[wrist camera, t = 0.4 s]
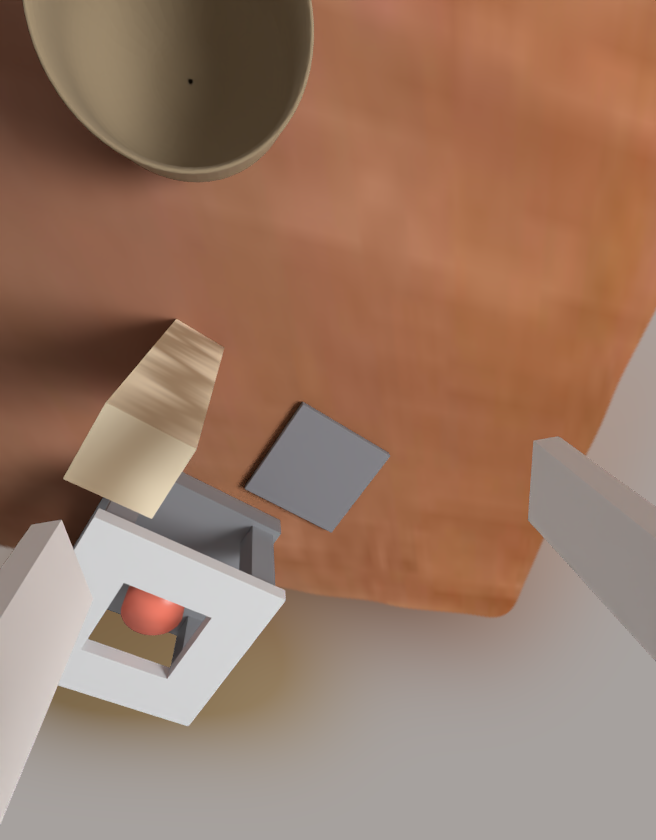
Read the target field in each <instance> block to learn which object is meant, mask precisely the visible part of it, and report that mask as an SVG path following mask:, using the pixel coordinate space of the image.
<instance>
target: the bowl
mask: <svg viewBox="0 0 656 840" xmlns="http://www.w3.org/2000/svg"><path fill="white" fill-rule="evenodd" d="M22 1H23V7H24V13H25V17H26V22H27V26H28V30H29V33H30V36H31V39H32V42H33V45H34V48H35V51H36V53H37V55H38V58H39V60H40V63H41V65H42V67H43V69H44V71H45V73H46V75H47V76H48V78H49V80H50V82H51V84H52V85H53V87H54V88H55V90H56V92H57V93H58V95H59V96H60V97H61V99H62V100H63V102H64V103H65V104H66V106H67V107H68V108H69V109H70V111H71V112H72V113H73V114H74V115H75V116H76V118H77V119H78V120H79V121H80V122H81V123H82V124H83V125H84V126H85V127H86V128H87V129H88V130H89V131H90V132H91V133H92V134H94V135H95V136H96V137H97V138H99V139H100V140H101V141H102V142H103V143H105V144H106V145H108V146H109V147H111V148H112V149H113V150H115V151H116V152H118V153H120V154H122V155H123V156H125V157H127V158H129V159H130V160H132V161H133V162H135V163H136V164H138V165H140V166H141V167H143V168H145V169H147V170H149V171H151V172H153V173H155V174H158V175H161V176H164V177H167V178H170V179H174V180H179V181H186V182H210V181H215V180H220V179H224V178H227V177H230V176H232V175H235V174H237V173H239V172H241V171H243V170H245V169H247V168H248V167H250V166H251V165H252V164H254V163H255V162H256V161H258V160H259V159H260V158H261V157H262V156H263V155H264V154H265V153H266V152H267V151H268V150H269V149H270V147H271V146H272V145H273V143H274V142H275V141H276V139H277V138H278V136H279V134H280V133H281V132H282V131H283V129H284V128H285V127H286V125H287V124H288V122H289V121H290V119H291V118H292V116H293V114H294V113H295V111H296V109H297V107H298V105H299V102H300V100H301V98H302V95H303V93H304V90H305V87H306V84H307V80H308V76H309V73H310V68H311V62H312V56H313V44H314V21H313V9H312V2H311V0H22Z"/></svg>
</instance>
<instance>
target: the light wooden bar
mask: <svg viewBox="0 0 656 840" xmlns="http://www.w3.org/2000/svg"><path fill="white" fill-rule="evenodd" d="M223 351H224V347H222V346H221V345H219V344H217V343H216V342H214V341H212V340H211V339H209V338H207V337H206V336H204V335H202V334H201V333H199V332H197V331H196V330H194V329H192V328H191V327H189V326H187V325H186V324H184V323H182V322H181V321H179V320H177V319H176V320H175V321H174V322H173V323H172V325H171V326H170V327H169V328H168V329H167V331H166V332H165V333H164V334H163V335H162V336H161V338H160V339H159V340H158V341H157V342H156V344H155V345H154V346H153V347H152V348H151V350H150V351H149V352H148V353H147V354H146V355H145V357H144V358H143V359H142V360H141V361H140V363H139V364H138V365H137V366H136V367H135V369H134V370H133V371H132V372H131V373H130V374H129V376H128V377H127V378H126V379H125V380H124V382H123V383H122V384H121V385H120V386H119V387H118V389H117V390H116V391H115V392H114V393H113V395H112V396H111V397H110V398H109V399H108V401H107V402H106V403H105V405H104V407H103V408H102V410H101V412H100V414H99V416H98V417H97V419H96V421H95V423H94V424H93V426H92V428H91V430H90V432H89V433H88V435H87V437H86V439H85V440H84V442H83V444H82V446H81V448H80V449H79V451H78V453H77V455H76V456H75V458H74V460H73V462H72V463H71V465H70V467H69V469H68V471H67V472H66V474H65V476H64V478H63V479H64V480H66V481H69V482H71V483H73V484H75V485H78V486H80V487H82V488H84V489H86V490H89V491H91V492H93V493H95V494H97V495H100V496H102V497H104V498H106V499H109V500H111V501H113V502H115V503H117V504H120V505H122V506H124V507H126V508H129V509H131V510H133V511H135V512H137V513H140V514H142V515H144V516H146V517H148V518H151V519H152V518H153V516H154V515H155V513H156V512H157V510H158V509H159V507H160V505H161V504H162V502H163V501H164V499H165V498H166V496H167V495H168V493H169V491H170V490H171V488H172V487H173V485H174V484H175V482H176V480H177V479H178V477H179V476H180V474H181V473H182V471H183V469H184V468H185V466H186V465H187V463H188V462H189V460H190V459H191V457H192V455H193V454H194V452H195V451H196V449H197V446H198V442H199V438H200V435H201V431H202V427H203V424H204V420H205V416H206V413H207V409H208V405H209V402H210V398H211V394H212V391H213V387H214V383H215V380H216V376H217V372H218V369H219V365H220V361H221V358H222V354H223Z"/></svg>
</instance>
